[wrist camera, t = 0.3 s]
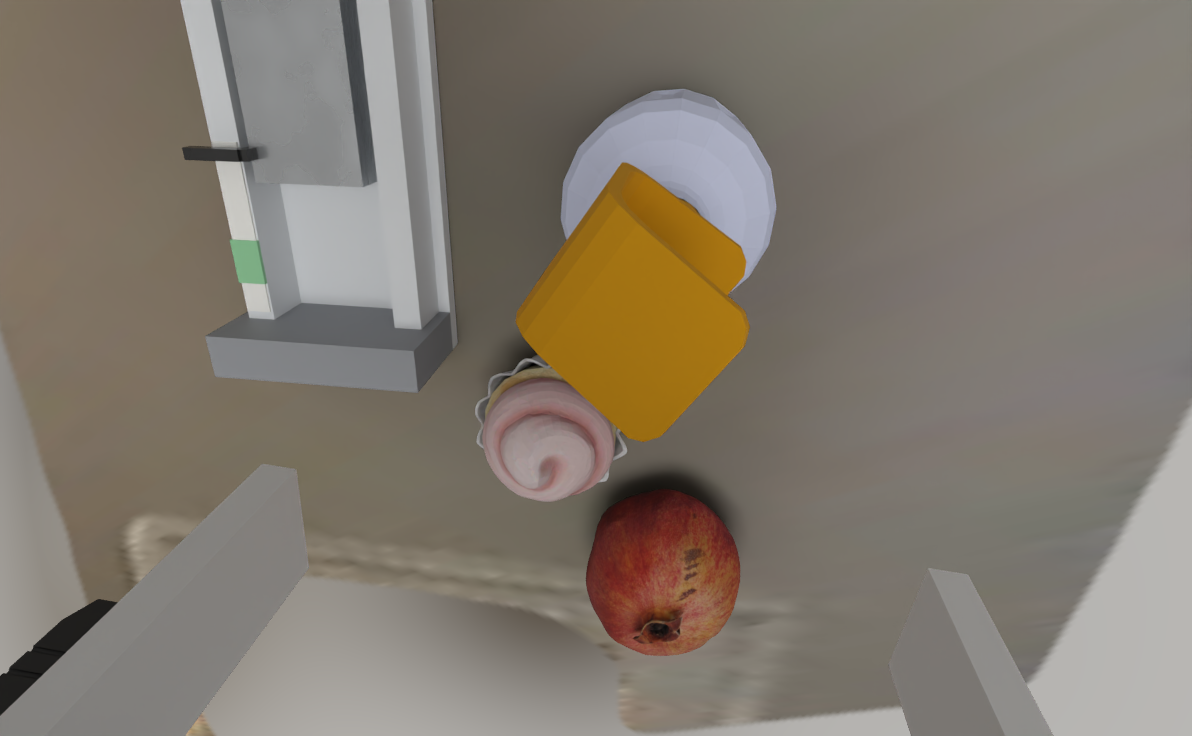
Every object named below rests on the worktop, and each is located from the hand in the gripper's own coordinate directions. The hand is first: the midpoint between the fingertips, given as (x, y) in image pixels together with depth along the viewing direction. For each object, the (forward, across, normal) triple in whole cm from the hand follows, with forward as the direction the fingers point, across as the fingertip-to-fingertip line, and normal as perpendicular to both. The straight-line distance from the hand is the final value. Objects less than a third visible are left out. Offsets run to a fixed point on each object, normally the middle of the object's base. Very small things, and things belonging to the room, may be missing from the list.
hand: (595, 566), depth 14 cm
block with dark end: (+26, -20, +8) cm, 34 cm away
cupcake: (+27, -4, -11) cm, 30 cm away
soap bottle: (+28, 0, +4) cm, 28 cm away
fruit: (+27, +3, -20) cm, 34 cm away
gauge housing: (+27, -19, +3) cm, 33 cm away
